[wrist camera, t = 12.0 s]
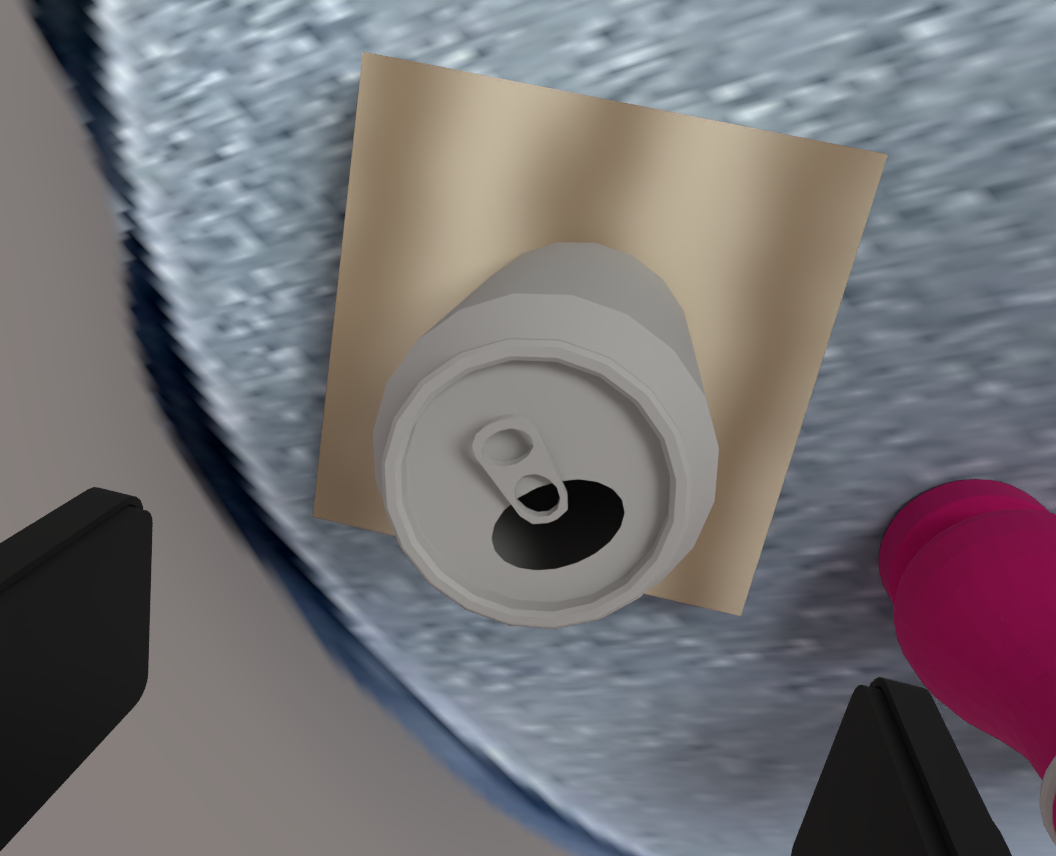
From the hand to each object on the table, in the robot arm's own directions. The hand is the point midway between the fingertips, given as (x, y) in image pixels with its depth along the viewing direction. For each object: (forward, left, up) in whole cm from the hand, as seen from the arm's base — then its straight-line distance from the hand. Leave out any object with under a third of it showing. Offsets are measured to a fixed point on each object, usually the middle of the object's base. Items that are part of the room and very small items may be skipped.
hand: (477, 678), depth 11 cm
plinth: (0, 0, -21) cm, 21 cm away
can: (0, 0, -18) cm, 18 cm away
